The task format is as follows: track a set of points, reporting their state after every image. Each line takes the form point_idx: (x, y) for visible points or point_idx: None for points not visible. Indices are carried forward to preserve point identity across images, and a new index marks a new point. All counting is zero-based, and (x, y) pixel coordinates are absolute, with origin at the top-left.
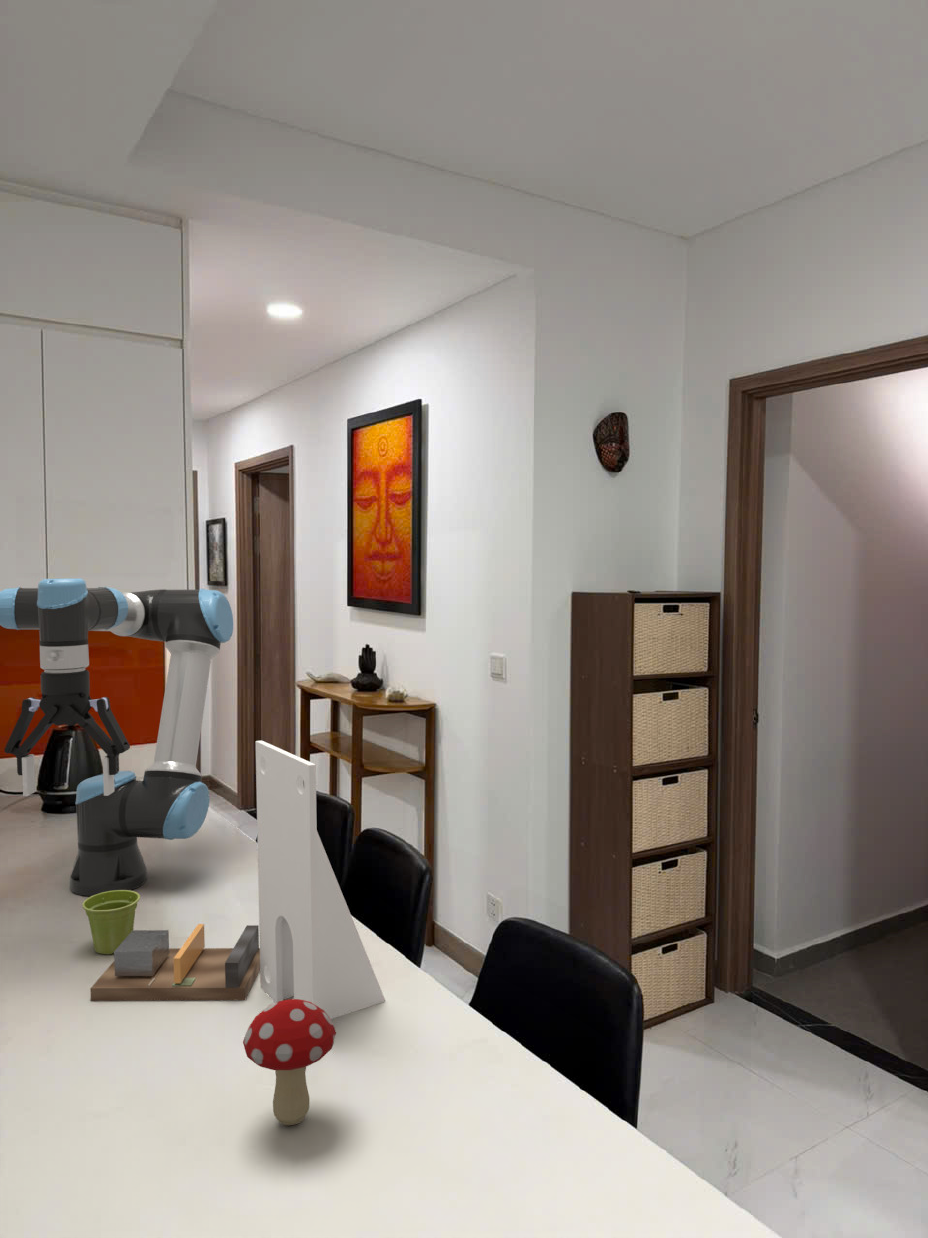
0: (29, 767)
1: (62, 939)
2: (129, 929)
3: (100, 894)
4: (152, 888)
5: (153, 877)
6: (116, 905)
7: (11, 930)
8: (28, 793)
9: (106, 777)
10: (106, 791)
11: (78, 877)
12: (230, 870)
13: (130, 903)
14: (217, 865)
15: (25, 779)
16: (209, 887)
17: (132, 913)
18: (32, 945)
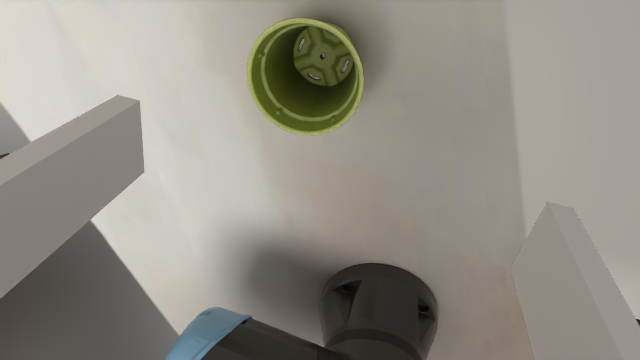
0: (583, 358)
1: (421, 112)
2: (281, 45)
3: (335, 123)
4: (308, 271)
5: (314, 307)
6: (310, 113)
7: (518, 174)
8: (545, 216)
9: (50, 136)
10: (112, 105)
11: (422, 312)
12: (208, 297)
13: (280, 105)
14: None
15: (590, 269)
16: (223, 250)
17: (266, 55)
18: (473, 99)
